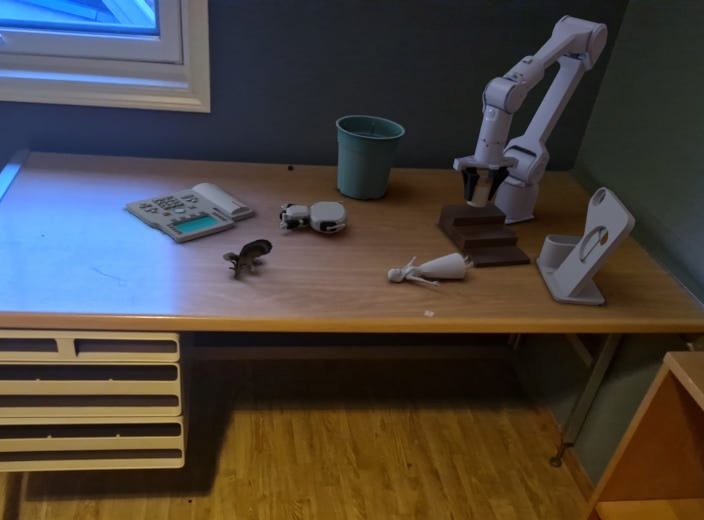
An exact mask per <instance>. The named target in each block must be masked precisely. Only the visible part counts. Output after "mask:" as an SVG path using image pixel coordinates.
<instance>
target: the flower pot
mask: <svg viewBox="0 0 704 520" xmlns="http://www.w3.org/2000/svg"><path fill="white" fill-rule="evenodd" d="M335 125H336V128H337V142H338V157H337V181H336V182H337V185H336V186H337V187H336V188H337V190H339V191H340V193H341V194H343V195H345V196H347V197H349V198H353V199H357V200H368V199H373V200H376V199H380V198H382V197H383V196H384V195H385V194H386V190H387V187H388V184H389V183H388V182H389V179H390V176H391V173H392V172H391V171H392V168H393V164H394V160H395V157H396V154H397V150H398V149H399V148H400V147H399V146H400V143H401V139H402V137H403V136H404V135H405V133H406V129H405V128H404V127H403V125H401V124H399V123H397V122H395V121H393V120H389V119H387V118H383V117H378V116H371V115H361V114H360V115H358V114H357V115H346V116H342V117H340V118H338V119H337V120H336V121H335Z"/></svg>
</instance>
